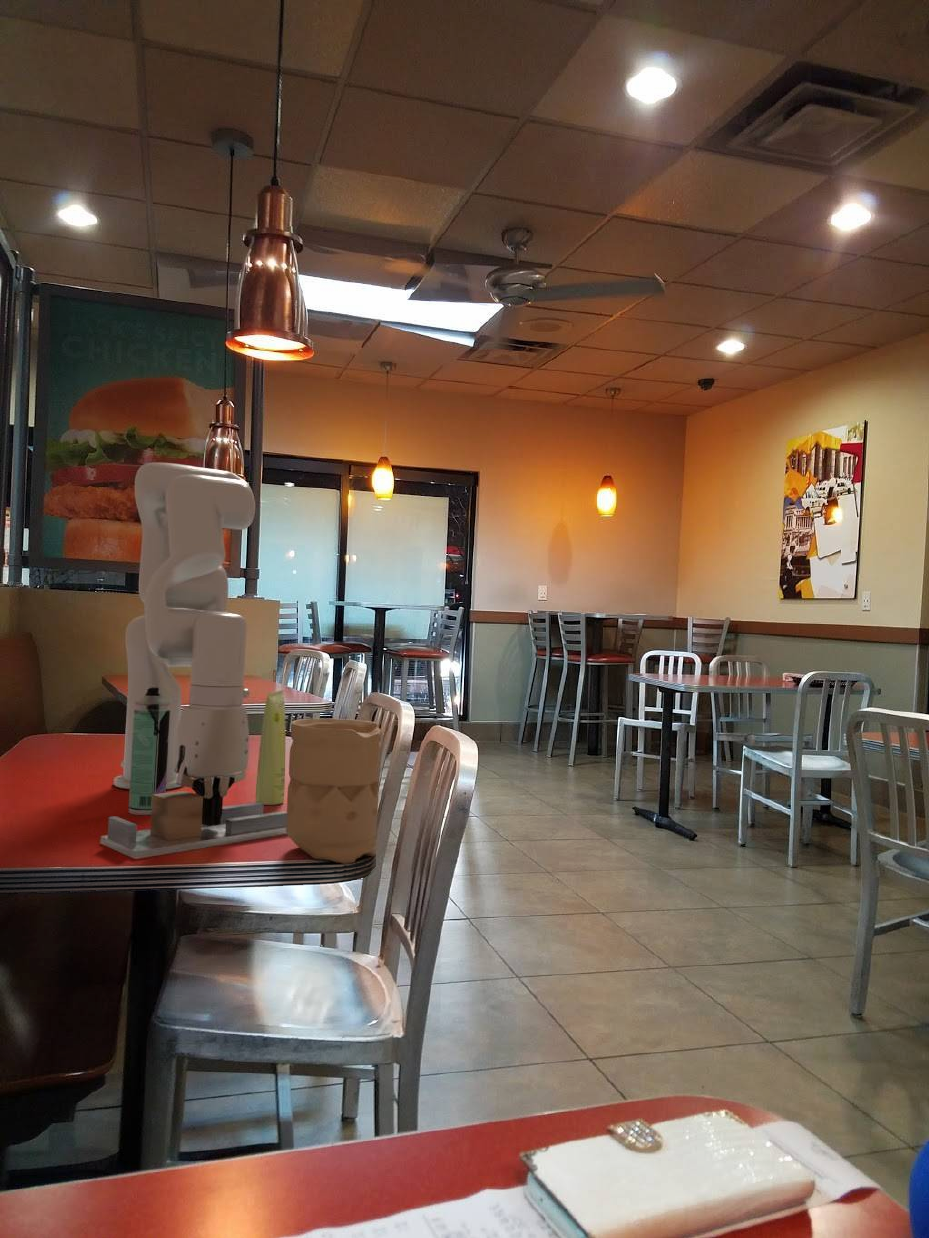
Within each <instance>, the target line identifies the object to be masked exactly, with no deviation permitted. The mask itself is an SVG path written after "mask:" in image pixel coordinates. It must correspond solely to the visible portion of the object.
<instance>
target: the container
mask: <svg viewBox="0 0 929 1238" xmlns="http://www.w3.org/2000/svg"><path fill="white" fill-rule="evenodd" d="M382 736H383V735H382V729H381V728H380V725H379V723H378V722H376V721H375V722H374V721H370V720H359V719H347V718H331V717H329V718H326V717H325V718H303V719H302V718H301V719H296V720H293V721H291V722H290V738H291V739H292V742H291V745H290V748H289V763H288V775H289V778H290V780H289V783H288V786H287V797H286V798H287V801H286V811H287V819H286V833H287V834H286V835H287V836H288V838H290V840H291V841H292V842H293V843H294V844H295V845H296V846H297V847H298V848H300V849H301V850H302V851H304V852H305V853H306V854H308V856H310V857H311V858H312V859H314V860H327V861H332V862H334V863H339V864H343V865H349V864H351V863H352V864H353V863H355V861H357V859H359V858H361V857H362V856H369V857H375V854H376V851H377V842H376V839H375V838H376V836H377V831H378V830H377V829H378V828H377V827H378V815H379V814H378V811H379V809H378V808H379V796H380V795H379V791H380V790H379V789H380V775H381V773H380V772H381V758H382V756H381V753H382V748H381V745H380V743H381V742H382Z"/></svg>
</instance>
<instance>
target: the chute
mask: <svg viewBox="0 0 929 1238" xmlns="http://www.w3.org/2000/svg"><path fill="white" fill-rule="evenodd" d="M264 807H265V806H264V804H263V803H260V802H248V803H241V804H235V805H234V804H233V805H225V806H222V816H221V823H220V825H213V826H207V825H204V824H202V826H201V836H195V837H189V838H182V839H176V840H170V841H168V840H165V839H163V838H160V837H158V836H155V835H153V834H150V829H151V828H150V829H142V830H137V828H138V825H137V823H134V822H132V821H129V820H127V819H124V818H121V817H119V816H113V815H112V816H109V817H108V823H107V824H108V825H107V834H106V835H101V836H100V845H103V846H106V847H107V848H109V849H112V850H114V851H116V852H119V853H120V854H123V855H125V856H127V857H130V858H131V859H133V860H139V859H144V858H145V859H146V858H150V857H151V858H152V857H157V856H162V855H169V854H175V853H182V852H186V851H194V850H198V849H199V850H200V849H206V848H211V847H218V846H221V845H222V846H223V845H230V844H236V843H241V842H246V841H252V840H258V839H263V838H264V839H266V838H269V837H270V838H271V837H277V836H283V835H287V833H286V819H287V810H281V811H276V812H266V813H264Z"/></svg>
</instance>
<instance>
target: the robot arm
mask: <svg viewBox="0 0 929 1238" xmlns="http://www.w3.org/2000/svg"><path fill="white" fill-rule="evenodd" d="M134 497H135V498H134V499H135V503H136V508H137V512H138V515H139V519H140V524H141V529H142V537H141V538H142V539H141V548H140V550H141V551H140V561H139V562H140V563H139V574H138V594H139V598H140V601H141V602H142V603H143V604H144V614H143V615H140V616H137V617H135V618H133V619H131V621H129V623H128V625H127V626H126V629H125V637H124V638H125V648H126V650H125V651H126V658H127V698H126V699H127V700H126V717H125V719H126V722H125V736H124V737H125V738H124V753H123V754H124V757H123V760H121V762H120V766H121V767H122V768H123V771H122V772H123V774H120V775H117V776H116V777H114V779H113V785H114V787H116V788H120V789H125V790H130V778H131V760H132V741H133V723H134V707H135V706H136V704H135V702H137V701H139V700H140V699H142V698H144V695H146V693H147V690H148V689H149V688H152V687H158V688H159V693H160V695H162V697H161V698H163V699H165V700H166V701H167V702H169V703H170V705H169V707H170V720H169V739H168V757H167V775H166V790H170V789H177V788H180V787H185V788H190V789H192V790H193V792H194V794H197V795H200V796H203V808H202V824H204V825H207V826H213V825H220V823H221V816H222V807H224V806H223V805H224V804H223V802H224V801H223V800H224V797H226V796H227V794H228V791H229V789H231V787H232V786H233V784H235V783H238V782H241V781H243V780H245V779H246V777H247V775H246V770H247V769H248V765H249V759H250V736H249V735H250V732H249V719H248V712H247V709H246V706H243V705H244V704H243V703H244V700H245V699H249V697H250V690H249V689H248V688H245V685H244V684H245V665H246V648H247V630H248V629H247V626H248V624H247V621H246V618H245V617H244V616H242V615H240V614H237V613H233V612H232V613H231V612H228V611H227V609H228V597H229V580H228V574H227V571H226V569H225V568H224V567H223V566H222V565H223V563H224V562H225V560H226V549H225V540H224V533H223V529H229V530H238V531H239V530H245V529H248V527H250V526H251V525H252V523H253V521H254V519H255V514H256V500H255V499H256V498H255V496H254V493H253V489H252V488H251V486H250V484H249V483H248V482H247V481H245V479H243V478H241V477H240V476H238V475H237V474H235V473H233V472H231V471H227V470H220V469H214V468H207V467H199V466H194V465H187V464H182V463H181V464H180V463H171V462H161V461H160V462H148V463H145V464H143V465H141V466H140V467H139V468H138V470H137V471H136V474H135V478H134ZM174 667H185V668H186V667H188V668H190V684H189V698H188V699H189V700H188V703H189V704H188V705H187V706H183V708H182V689H181V688H182V687H181V685H180V684H179V682H178V681H177V678H175V677H174V676H173V674H172V673H171V671H170V669H169V668H174Z"/></svg>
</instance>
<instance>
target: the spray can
mask: <svg viewBox="0 0 929 1238" xmlns="http://www.w3.org/2000/svg"><path fill="white" fill-rule="evenodd" d="M161 697H162V695H160V693H159V688H158V687H152V688H149V689H148V690H147V693H146V695H144V698H142V699H140V700H139V701H137V702H135V704H136V706H135V707H134V723H133V741H132V760H131V778H130V789H129V798H128V813H130V814H131V815H137V816H139V815H140V816H151V811H152V794H160V793H167V789H166V775H167V757H168V739H169V720H170V707H169V705H170V703H169V702H167V701H166V700H165V699H163V698H161Z"/></svg>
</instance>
